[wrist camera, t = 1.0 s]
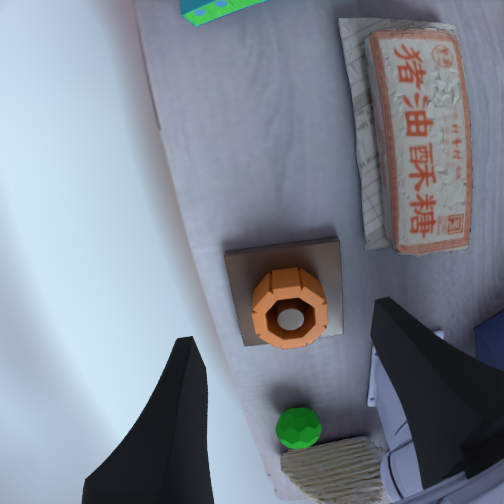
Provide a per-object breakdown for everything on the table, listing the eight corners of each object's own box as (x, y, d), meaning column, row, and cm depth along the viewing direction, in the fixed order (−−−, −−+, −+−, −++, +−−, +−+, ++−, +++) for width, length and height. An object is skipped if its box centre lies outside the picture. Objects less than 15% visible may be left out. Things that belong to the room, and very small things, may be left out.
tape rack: (341, 327, 28) (350, 355, 25) (244, 340, 29) (241, 369, 26) (337, 236, 25) (348, 256, 21) (225, 251, 26) (218, 273, 22)
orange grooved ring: (324, 321, 27) (329, 343, 24) (260, 330, 28) (259, 352, 25) (320, 263, 25) (326, 281, 22) (249, 273, 26) (246, 291, 23)
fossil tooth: (278, 439, 38) (392, 423, 34) (287, 462, 40) (391, 448, 36) (268, 512, 27) (404, 497, 23) (279, 528, 29) (399, 515, 25)
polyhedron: (293, 429, 35) (294, 460, 30) (267, 411, 33) (266, 444, 29) (327, 412, 33) (332, 444, 29) (303, 392, 32) (306, 426, 28)
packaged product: (491, 253, 20) (378, 272, 21) (462, 232, 24) (361, 245, 25) (477, 15, 13) (348, -1, 14) (447, 27, 18) (333, 20, 19)
